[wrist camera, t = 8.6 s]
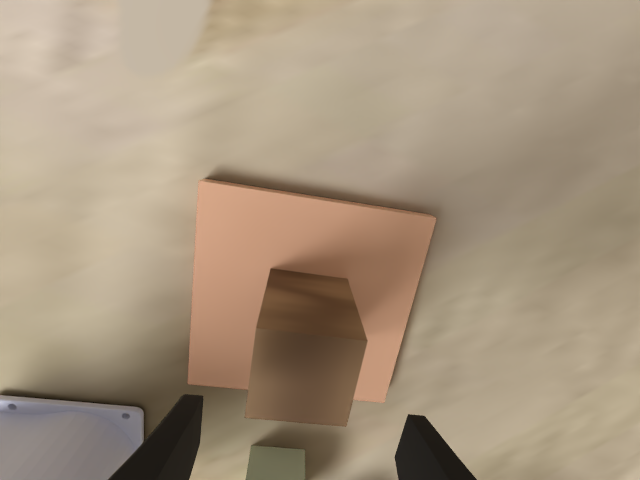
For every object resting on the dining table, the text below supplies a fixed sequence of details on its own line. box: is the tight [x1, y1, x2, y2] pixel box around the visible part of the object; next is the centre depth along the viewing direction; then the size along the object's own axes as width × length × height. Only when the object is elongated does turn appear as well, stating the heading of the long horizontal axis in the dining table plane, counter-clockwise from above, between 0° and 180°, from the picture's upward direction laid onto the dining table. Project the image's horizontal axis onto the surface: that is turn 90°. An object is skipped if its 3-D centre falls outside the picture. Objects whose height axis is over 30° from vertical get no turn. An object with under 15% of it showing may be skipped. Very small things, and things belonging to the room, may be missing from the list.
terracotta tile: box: [187, 179, 437, 403], centre depth 19 cm, size 13×13×1 cm
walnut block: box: [245, 268, 368, 427], centre depth 16 cm, size 4×4×6 cm
